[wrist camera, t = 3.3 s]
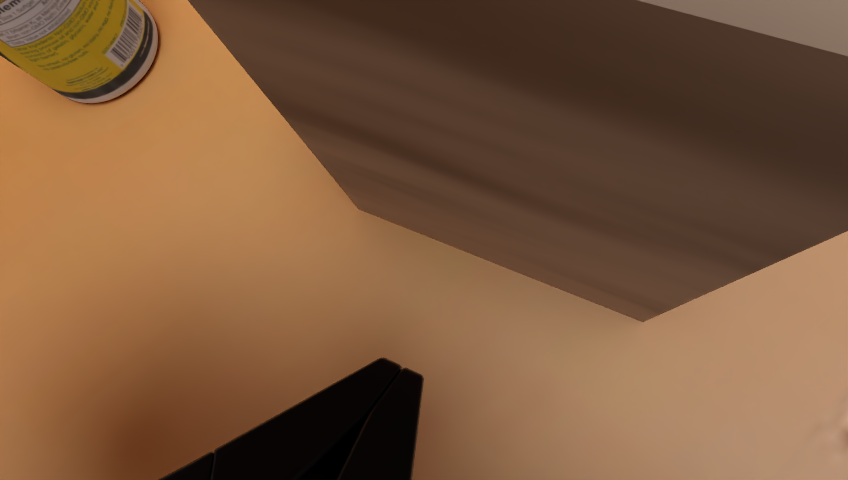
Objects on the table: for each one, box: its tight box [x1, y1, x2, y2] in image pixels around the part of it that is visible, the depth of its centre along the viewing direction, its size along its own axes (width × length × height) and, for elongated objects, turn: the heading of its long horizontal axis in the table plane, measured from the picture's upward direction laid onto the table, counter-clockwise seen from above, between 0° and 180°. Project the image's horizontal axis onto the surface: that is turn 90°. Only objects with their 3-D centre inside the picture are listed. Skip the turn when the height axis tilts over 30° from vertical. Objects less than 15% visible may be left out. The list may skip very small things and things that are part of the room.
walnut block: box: [188, 0, 848, 322], centre depth 12 cm, size 10×10×13 cm
